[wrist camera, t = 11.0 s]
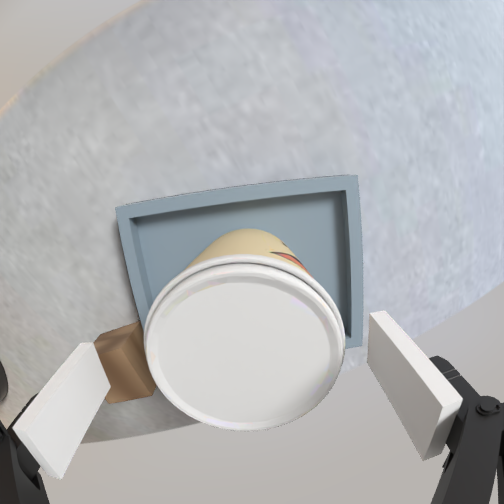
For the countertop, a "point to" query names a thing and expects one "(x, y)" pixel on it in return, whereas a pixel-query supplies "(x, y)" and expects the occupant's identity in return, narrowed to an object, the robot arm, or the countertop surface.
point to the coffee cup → (244, 335)
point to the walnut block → (125, 363)
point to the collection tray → (255, 217)
